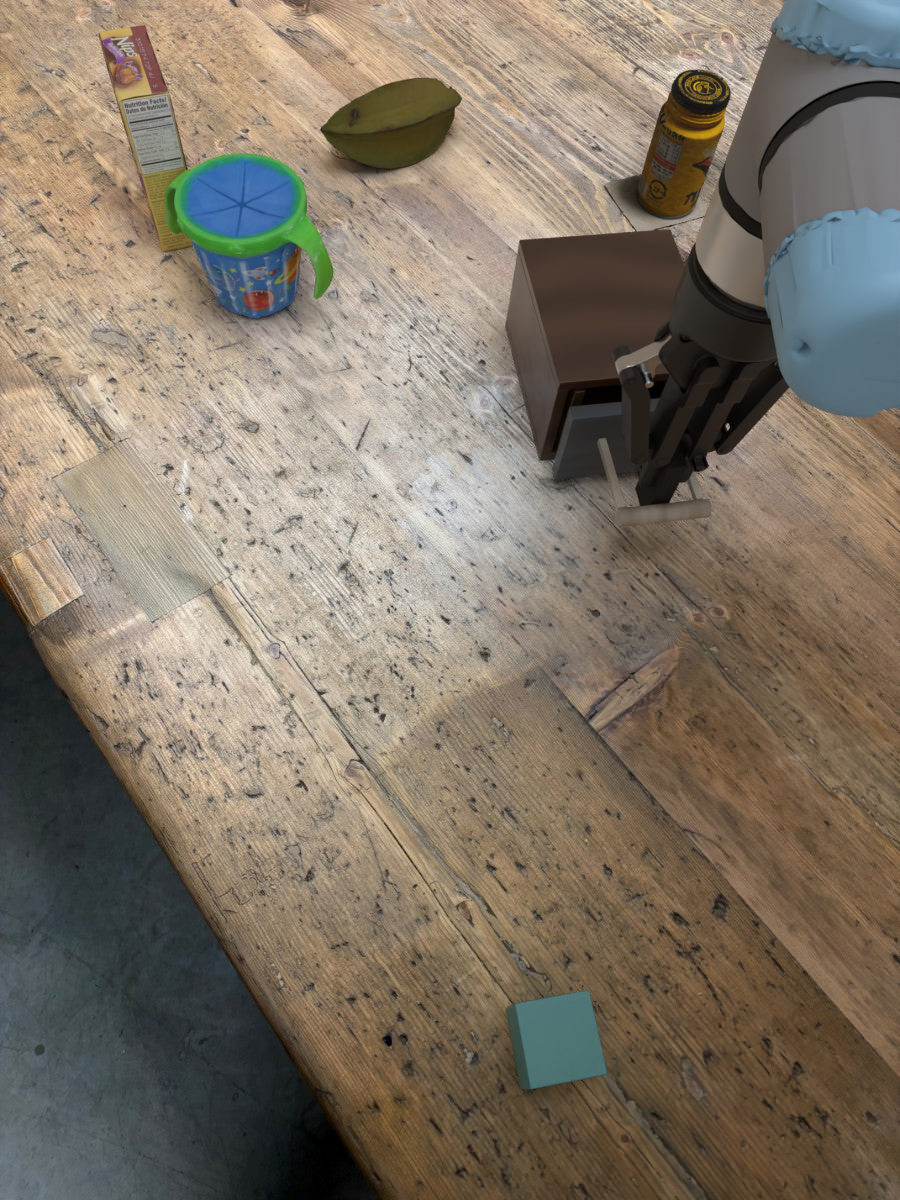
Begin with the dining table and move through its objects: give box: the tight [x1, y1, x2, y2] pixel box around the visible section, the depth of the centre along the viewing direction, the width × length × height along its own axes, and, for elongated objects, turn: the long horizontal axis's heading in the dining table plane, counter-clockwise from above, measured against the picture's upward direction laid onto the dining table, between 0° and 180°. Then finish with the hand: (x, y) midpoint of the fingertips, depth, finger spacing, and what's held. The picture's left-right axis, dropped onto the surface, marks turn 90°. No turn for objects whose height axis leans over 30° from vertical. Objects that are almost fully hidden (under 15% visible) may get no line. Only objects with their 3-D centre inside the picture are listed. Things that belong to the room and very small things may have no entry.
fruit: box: [319, 77, 463, 170], centre depth 90 cm, size 11×12×7 cm
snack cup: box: [165, 152, 335, 320], centre depth 79 cm, size 16×10×10 cm
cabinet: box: [505, 228, 685, 462], centre depth 77 cm, size 15×13×10 cm
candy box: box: [97, 24, 193, 252], centre depth 80 cm, size 9×4×15 cm, turn 20°
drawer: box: [551, 380, 713, 528], centre depth 74 cm, size 21×12×8 cm, turn 10°
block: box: [505, 989, 608, 1090], centre depth 55 cm, size 4×4×4 cm
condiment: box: [603, 68, 732, 232], centre depth 87 cm, size 7×8×12 cm
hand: (648, 501), depth 71 cm, fingers closed
